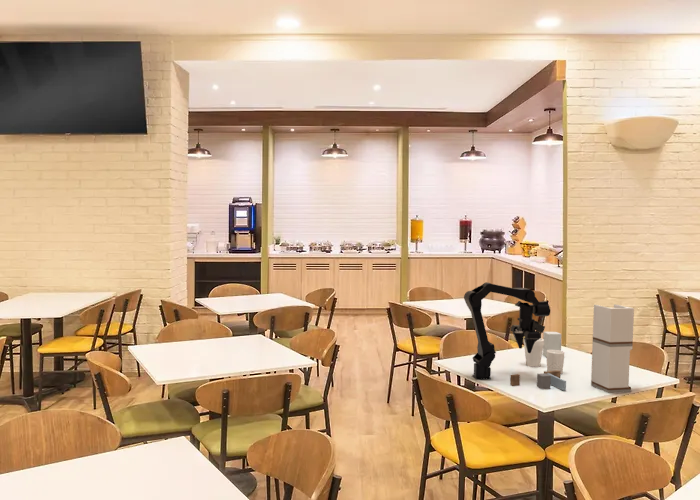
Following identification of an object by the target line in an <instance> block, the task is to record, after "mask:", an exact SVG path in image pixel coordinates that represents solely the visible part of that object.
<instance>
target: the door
mask: <svg viewBox="0 0 700 500" xmlns="http://www.w3.org/2000/svg"><path fill="white" fill-rule="evenodd" d="M547 374H548V375H550V376H551V385H550V386H553V387H555V388H557V389H559V390H562V391H563V392H565V391H567V380H565V379H563V378H561V377H560V378H558V377H556V376H554V375H552V374H549V373H547Z"/></svg>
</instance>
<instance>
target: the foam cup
mask: <svg viewBox="0 0 700 500" xmlns="http://www.w3.org/2000/svg"><path fill="white" fill-rule="evenodd" d="M543 345H544V339H543V338H542V337H541V338H540V339H539V340H537V341H536V342H535V343H534V345H533V348H532V351H531V353H528V351H527V348H526V344H525V340H524V339H523V347H524V356H525V365H526V366H527V367H530V368H539V367H540V366H541V362H542V356H543Z"/></svg>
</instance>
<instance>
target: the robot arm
mask: <svg viewBox="0 0 700 500" xmlns="http://www.w3.org/2000/svg"><path fill="white" fill-rule="evenodd" d="M490 293H495V294H499V295H503V296H504V295H505V296H509V297H514V298H516V299H518V301H517V302H516V303H515V304H514V306H516V307H519V315H518V317H517V320H518V324H513V325H511V326H510V332H511V333H512V335H513V336H514V339H515V341H516V344H517V347H518V349H520V350H521V349H523V346H524V340H525V344H526V348H527V351H528V353H531V351H532V348H533V345H534V343H535V342H536V341H537V340H539V339H540V338H541V339H542V334H543V333H544V332H545V328H546V326H545V325H542V324H540V323H539V321H537V320H535V318H533V315H534V316H535V317H549V316H550V315H551V307H550V305H549V301H546V300H543V301H540V300H538V299H537V297H536V293H535V291H534V289H533V290H532V289H530V288H526V287H509V286H504V285H498V284H494V283H491V282H484V283H482V284H481V285H479V286H477V287H475V288H473V289H471V290H467V291H466V292H465V294H463V298H464V299H463V300H464V301H465V304H466V306H467V308H468V310H469V311H470V314H471V318H472V322H473V327H474V331H475V335H476V338H477V347H476V348H477V353H475V355H474V356H472V361H473V362H474V363H473V374H472V377H473V378H474V379H476V380H491V379H492V378H491V374H492V371H491V370H492V368H491V365H492V364H493V363H492V362H493V361H494V359H495V358H496V354H497V352H496V349H495V344H494V343H492V342H490V341H489V338H488V335H487V331H486V326H485V322H484V319H483V315H482V306H483V304H482V300H483V299H485V298H486V297H487V296H488V295H489V294H490ZM522 301H524V302H522ZM529 303H530V304H529Z"/></svg>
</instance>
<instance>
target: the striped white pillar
mask: <svg viewBox="0 0 700 500" xmlns="http://www.w3.org/2000/svg"><path fill="white" fill-rule="evenodd" d="M634 316H635V308H634V307H630V306H624V305H622V304H621V305H620V304H613V307H608V306H603V305H599V304H593V319H592V320H593V321H592V343H591V345H592V349H591V373H590V386H591V387H594V388H596V389H597V390H600V391H602V392H604V393H607V394H615V393H616V394H618V393H631V392H632V387H631V386H630V384H629V383H630V358H631V357H630V356H631V351H632V350H633V347H634V346H633V344H634V340H633V339H634Z"/></svg>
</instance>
